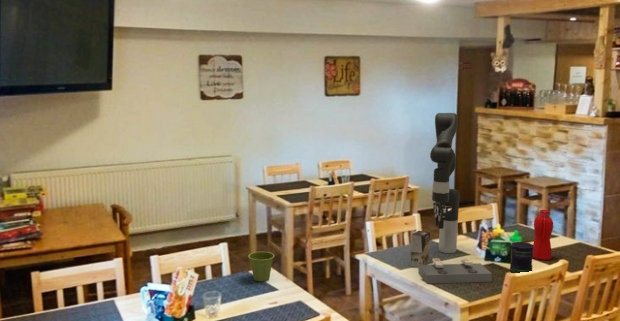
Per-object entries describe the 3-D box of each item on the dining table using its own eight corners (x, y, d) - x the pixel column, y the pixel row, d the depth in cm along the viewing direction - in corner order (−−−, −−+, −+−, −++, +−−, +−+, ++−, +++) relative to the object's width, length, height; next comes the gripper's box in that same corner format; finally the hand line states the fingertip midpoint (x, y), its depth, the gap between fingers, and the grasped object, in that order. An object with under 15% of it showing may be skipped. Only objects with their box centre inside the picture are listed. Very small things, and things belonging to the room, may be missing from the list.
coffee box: (422, 268, 293) (423, 236, 291) (410, 266, 297) (411, 234, 294) (429, 263, 301) (430, 231, 299) (416, 261, 304) (418, 230, 302)
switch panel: (418, 273, 287) (418, 264, 286) (479, 271, 290) (480, 262, 289) (427, 283, 273) (427, 274, 272) (491, 281, 276) (492, 272, 275)
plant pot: (243, 279, 277) (242, 255, 276) (263, 272, 286) (262, 249, 284) (259, 285, 269) (259, 261, 267) (279, 279, 277) (279, 255, 275)
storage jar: (523, 280, 278) (525, 249, 275) (505, 274, 286) (507, 244, 283) (536, 276, 284) (538, 245, 281) (518, 270, 291) (520, 240, 289)
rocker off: (432, 260, 287) (432, 258, 286) (438, 260, 287) (438, 258, 286) (436, 267, 280) (436, 265, 279) (443, 267, 280) (443, 264, 280)
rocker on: (461, 262, 288) (461, 259, 288) (467, 261, 288) (467, 259, 288) (466, 265, 281) (466, 262, 281) (472, 264, 281) (472, 262, 281)
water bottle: (532, 260, 306) (535, 212, 303) (531, 254, 317) (534, 207, 313) (551, 262, 304) (555, 213, 300) (550, 255, 314) (553, 208, 310)
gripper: (428, 187, 284) (426, 223, 287) (437, 194, 270) (436, 231, 273) (443, 187, 285) (442, 223, 288) (454, 194, 271) (452, 231, 274)
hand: (439, 226), depth 280 cm, fingers open, 4 cm apart
